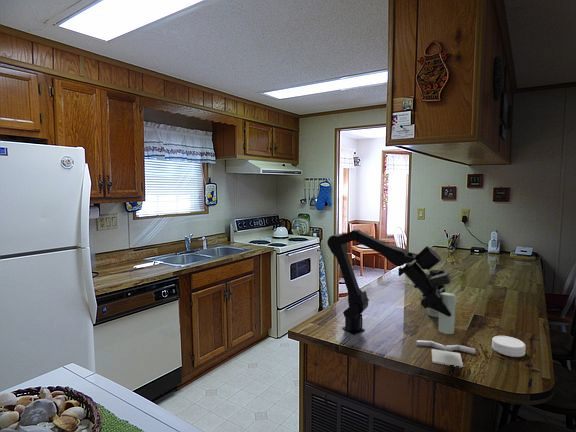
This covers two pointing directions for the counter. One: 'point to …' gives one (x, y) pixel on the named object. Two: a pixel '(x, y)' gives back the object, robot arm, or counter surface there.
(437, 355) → the tile
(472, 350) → the bent wire
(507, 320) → the counter surface
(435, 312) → the spray can
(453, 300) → the sage peg
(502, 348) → the white thick disc
